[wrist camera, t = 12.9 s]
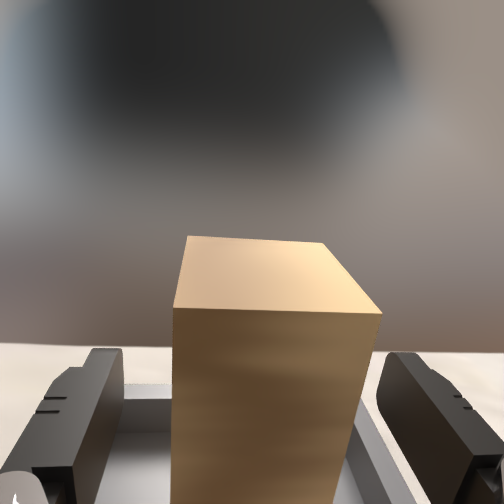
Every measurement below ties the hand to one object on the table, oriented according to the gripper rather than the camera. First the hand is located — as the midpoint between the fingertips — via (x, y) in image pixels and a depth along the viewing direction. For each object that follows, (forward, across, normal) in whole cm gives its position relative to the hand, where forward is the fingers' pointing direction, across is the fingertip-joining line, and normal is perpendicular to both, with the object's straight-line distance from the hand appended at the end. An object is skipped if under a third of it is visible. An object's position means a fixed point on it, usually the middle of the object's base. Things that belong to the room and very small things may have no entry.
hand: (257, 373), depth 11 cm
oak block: (-1, 0, +8) cm, 8 cm away
